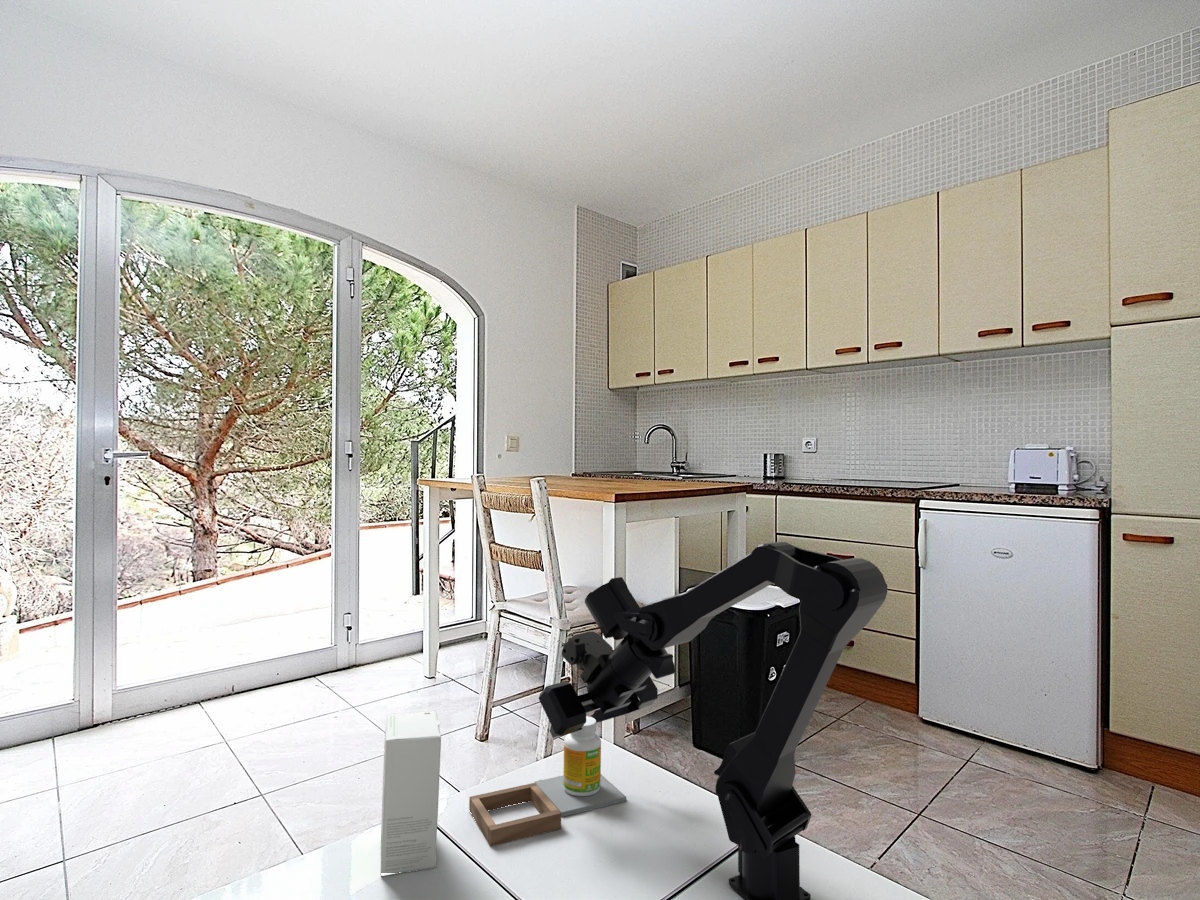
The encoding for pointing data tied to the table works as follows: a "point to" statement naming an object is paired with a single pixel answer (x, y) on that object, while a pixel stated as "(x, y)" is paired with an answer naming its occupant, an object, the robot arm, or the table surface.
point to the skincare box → (410, 792)
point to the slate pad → (579, 803)
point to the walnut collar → (520, 827)
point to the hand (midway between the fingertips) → (573, 726)
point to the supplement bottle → (582, 760)
